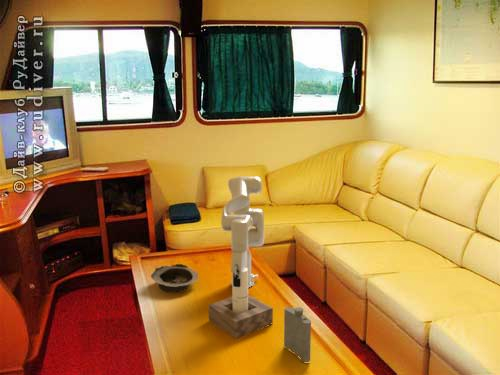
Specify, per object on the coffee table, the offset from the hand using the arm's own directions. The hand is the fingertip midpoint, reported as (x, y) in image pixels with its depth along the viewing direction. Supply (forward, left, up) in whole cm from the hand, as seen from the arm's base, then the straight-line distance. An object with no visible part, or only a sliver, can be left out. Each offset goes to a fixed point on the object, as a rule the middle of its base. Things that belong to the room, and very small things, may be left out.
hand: (240, 282), depth 227 cm
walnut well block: (0, 0, -20) cm, 20 cm away
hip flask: (-2, +36, -20) cm, 41 cm away
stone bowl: (+3, -54, -20) cm, 58 cm away
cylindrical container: (0, 0, -19) cm, 19 cm away
